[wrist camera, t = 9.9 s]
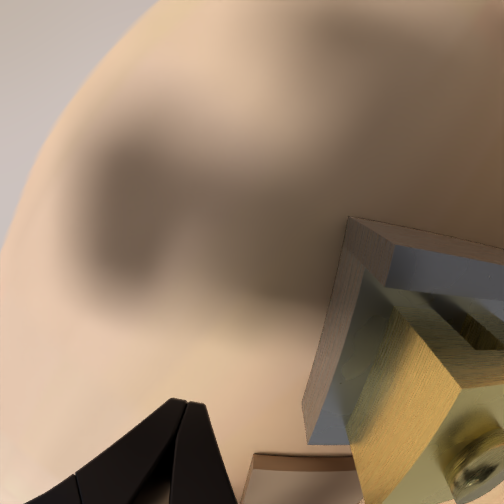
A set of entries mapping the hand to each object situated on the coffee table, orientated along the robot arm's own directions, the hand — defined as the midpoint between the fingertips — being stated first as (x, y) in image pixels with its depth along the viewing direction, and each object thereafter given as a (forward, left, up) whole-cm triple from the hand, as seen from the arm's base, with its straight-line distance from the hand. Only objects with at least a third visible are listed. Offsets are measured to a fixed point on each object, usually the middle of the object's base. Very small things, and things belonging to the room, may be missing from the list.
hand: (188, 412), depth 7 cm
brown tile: (+6, -10, -5) cm, 13 cm away
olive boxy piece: (+8, 0, -2) cm, 8 cm away
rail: (+14, 0, -5) cm, 15 cm away
